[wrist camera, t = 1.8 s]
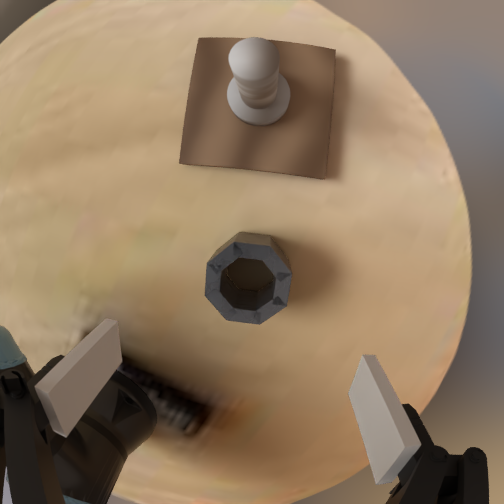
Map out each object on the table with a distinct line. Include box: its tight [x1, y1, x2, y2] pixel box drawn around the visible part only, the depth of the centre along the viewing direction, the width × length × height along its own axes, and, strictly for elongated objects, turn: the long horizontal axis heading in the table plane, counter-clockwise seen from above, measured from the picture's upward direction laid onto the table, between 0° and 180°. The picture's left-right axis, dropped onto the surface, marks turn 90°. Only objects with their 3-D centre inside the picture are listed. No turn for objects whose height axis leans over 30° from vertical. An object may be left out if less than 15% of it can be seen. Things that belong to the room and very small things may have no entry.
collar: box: [205, 232, 292, 324], centre depth 28 cm, size 7×7×5 cm
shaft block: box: [179, 37, 336, 179], centre depth 21 cm, size 14×14×12 cm
